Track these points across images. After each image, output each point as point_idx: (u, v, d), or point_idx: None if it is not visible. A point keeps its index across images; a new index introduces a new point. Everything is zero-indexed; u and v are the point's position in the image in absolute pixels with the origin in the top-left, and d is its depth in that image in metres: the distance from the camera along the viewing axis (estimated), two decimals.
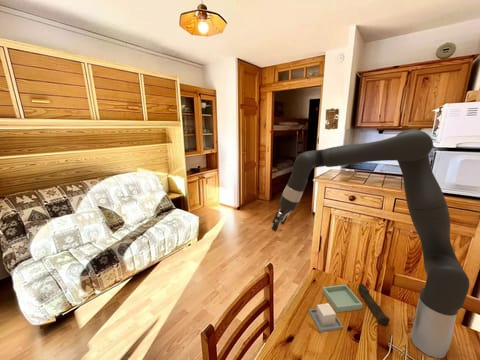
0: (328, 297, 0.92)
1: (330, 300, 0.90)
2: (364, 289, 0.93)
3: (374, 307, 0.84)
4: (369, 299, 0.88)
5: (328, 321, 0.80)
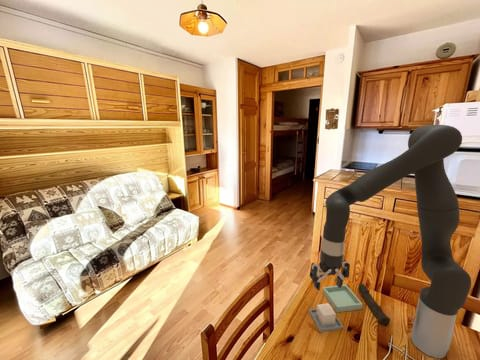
0: (328, 297, 0.92)
1: (330, 300, 0.90)
2: (364, 289, 0.92)
3: (374, 307, 0.84)
4: (369, 299, 0.88)
5: (328, 321, 0.80)
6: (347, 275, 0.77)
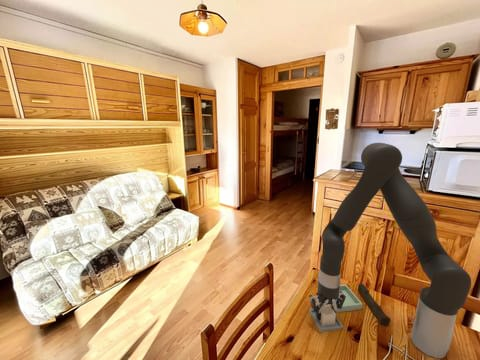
0: None
1: None
2: (364, 289, 0.92)
3: (375, 307, 0.84)
4: (369, 299, 0.88)
5: (328, 321, 0.80)
6: (340, 306, 0.80)
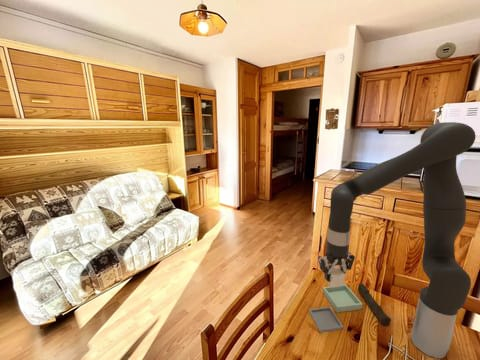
0: (328, 297, 0.92)
1: (330, 300, 0.90)
2: (364, 289, 0.92)
3: (375, 307, 0.84)
4: (370, 299, 0.88)
5: (338, 282, 0.78)
6: (349, 267, 0.79)
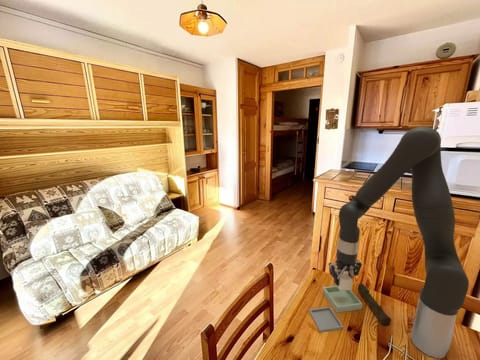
0: (328, 297, 0.92)
1: (330, 300, 0.90)
2: (364, 289, 0.92)
3: (375, 307, 0.84)
4: (370, 299, 0.88)
5: (346, 286, 0.87)
6: (357, 273, 0.88)
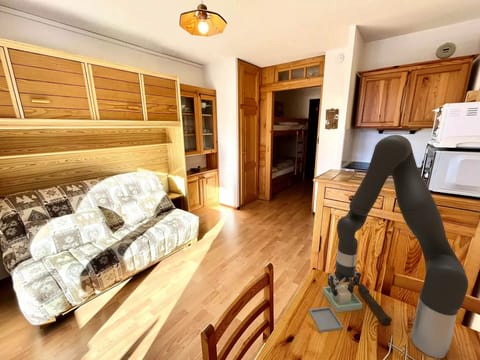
0: (328, 297, 0.92)
1: (330, 300, 0.90)
2: (364, 289, 0.92)
3: (376, 307, 0.84)
4: (370, 299, 0.88)
5: (345, 301, 0.89)
6: (357, 283, 0.89)
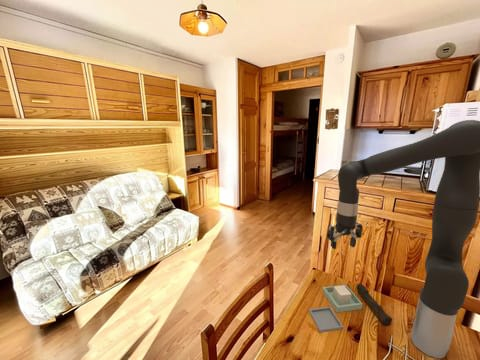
0: (328, 297, 0.92)
1: (330, 300, 0.90)
2: (363, 289, 0.92)
3: (376, 307, 0.84)
4: (370, 299, 0.88)
5: (345, 301, 0.89)
6: (360, 235, 0.87)
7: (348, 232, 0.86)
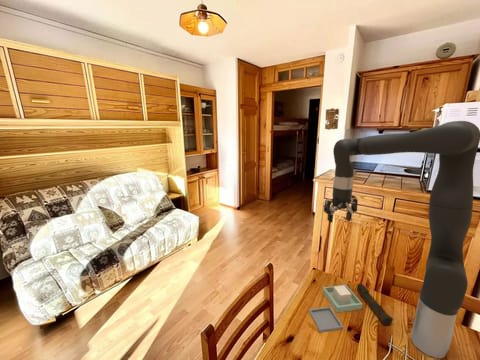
0: (328, 297, 0.92)
1: (330, 300, 0.90)
2: (364, 289, 0.92)
3: (376, 307, 0.84)
4: (370, 299, 0.88)
5: (345, 301, 0.89)
6: (355, 209, 0.92)
7: (344, 206, 0.91)
